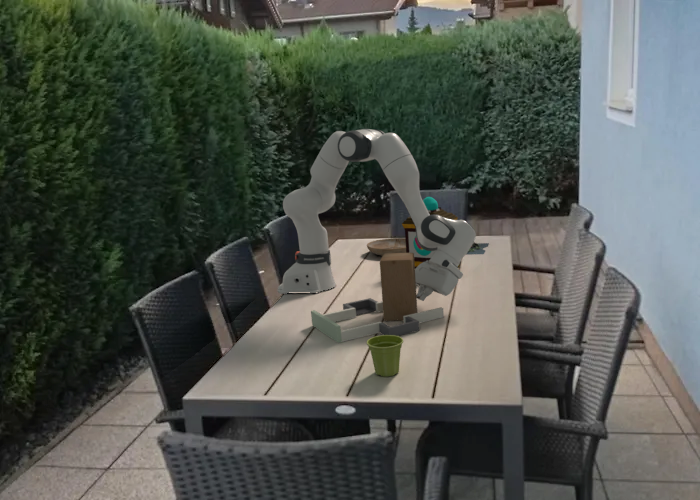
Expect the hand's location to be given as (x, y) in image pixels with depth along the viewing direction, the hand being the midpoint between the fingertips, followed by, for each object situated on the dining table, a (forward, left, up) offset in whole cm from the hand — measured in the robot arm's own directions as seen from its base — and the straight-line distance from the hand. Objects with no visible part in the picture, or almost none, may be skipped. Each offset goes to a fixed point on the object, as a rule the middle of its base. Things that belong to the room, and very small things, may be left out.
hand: (419, 299), depth 224 cm
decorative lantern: (+7, +53, -5) cm, 54 cm away
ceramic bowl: (-9, +88, -5) cm, 89 cm away
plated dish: (+18, +89, -5) cm, 91 cm away
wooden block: (-6, -4, -4) cm, 9 cm away
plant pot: (-10, -50, -4) cm, 51 cm away
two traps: (-13, -8, -4) cm, 16 cm away
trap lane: (-13, -8, -4) cm, 16 cm away
